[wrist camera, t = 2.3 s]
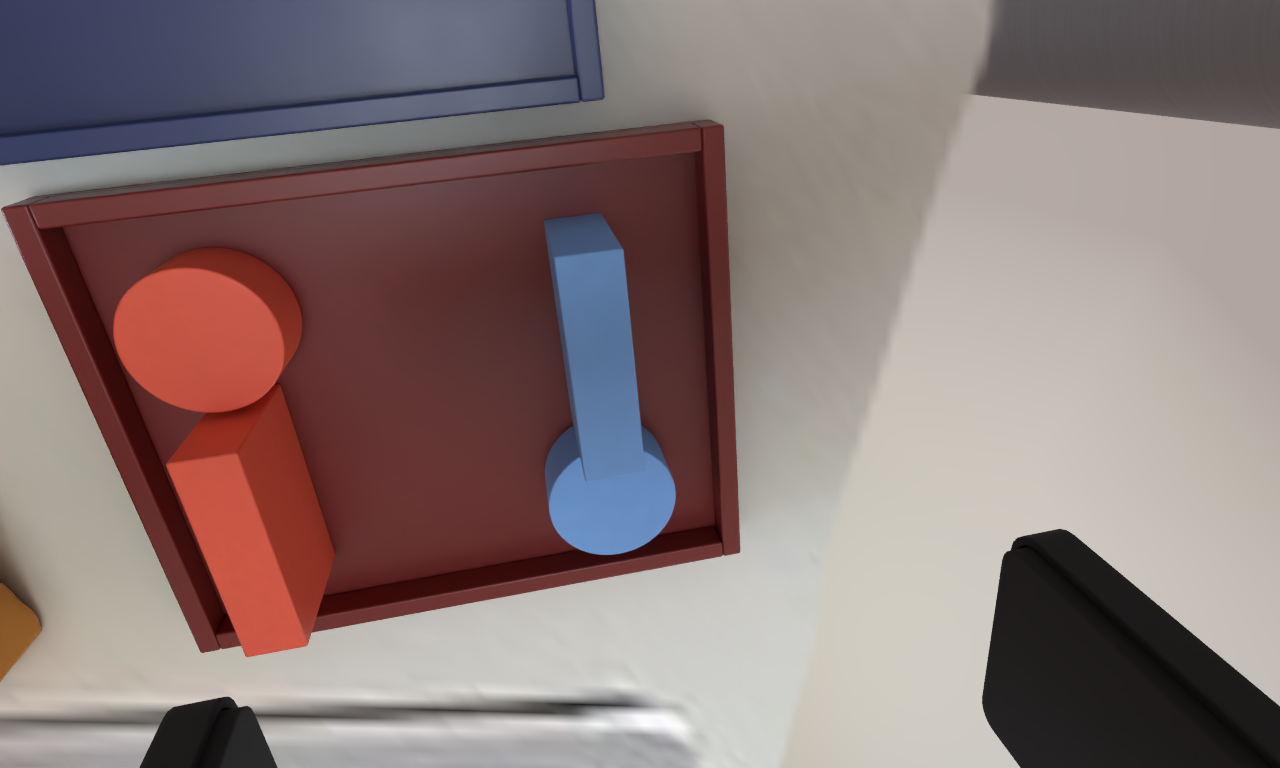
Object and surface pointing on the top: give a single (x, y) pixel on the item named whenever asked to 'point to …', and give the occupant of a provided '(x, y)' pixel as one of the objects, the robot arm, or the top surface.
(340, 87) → the navy tray
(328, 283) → the maroon tray
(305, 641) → the coral spoon
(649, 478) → the blue spoon
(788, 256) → the top surface
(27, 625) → the coffee package
